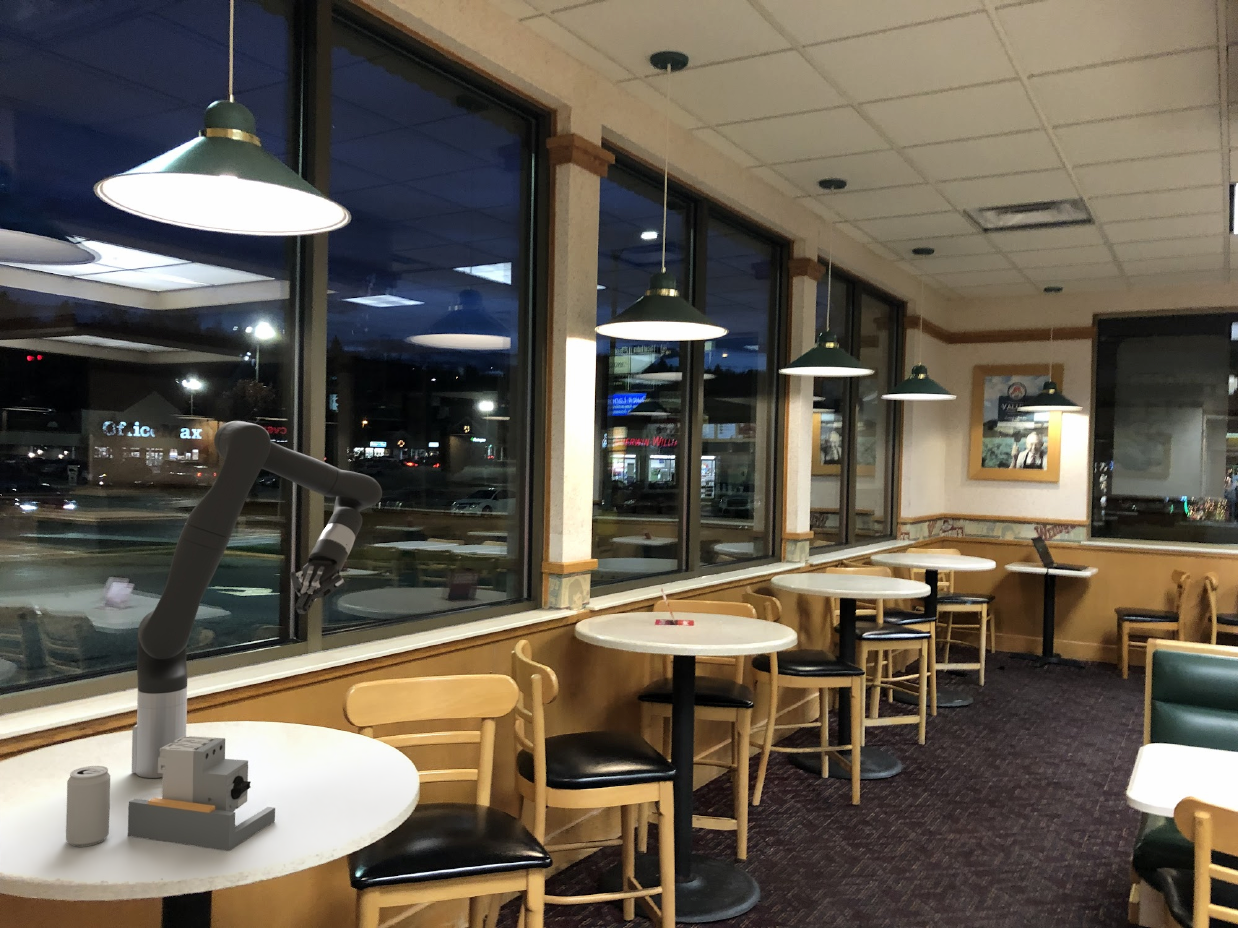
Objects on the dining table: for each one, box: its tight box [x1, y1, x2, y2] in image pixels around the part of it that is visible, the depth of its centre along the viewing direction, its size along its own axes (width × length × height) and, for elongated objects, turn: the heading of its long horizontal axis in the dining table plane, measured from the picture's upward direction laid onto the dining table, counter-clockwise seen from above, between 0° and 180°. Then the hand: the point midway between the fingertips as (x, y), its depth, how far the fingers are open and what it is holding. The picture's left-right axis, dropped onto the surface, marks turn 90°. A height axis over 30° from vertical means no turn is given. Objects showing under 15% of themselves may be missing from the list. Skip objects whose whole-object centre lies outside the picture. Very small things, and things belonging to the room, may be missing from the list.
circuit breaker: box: [158, 735, 252, 812], centre depth 165 cm, size 8×14×15 cm, turn 84°
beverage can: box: [65, 765, 111, 848], centre depth 158 cm, size 6×6×12 cm
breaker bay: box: [127, 797, 276, 852], centre depth 165 cm, size 20×13×7 cm, turn 77°
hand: (300, 611), depth 198 cm, fingers closed
